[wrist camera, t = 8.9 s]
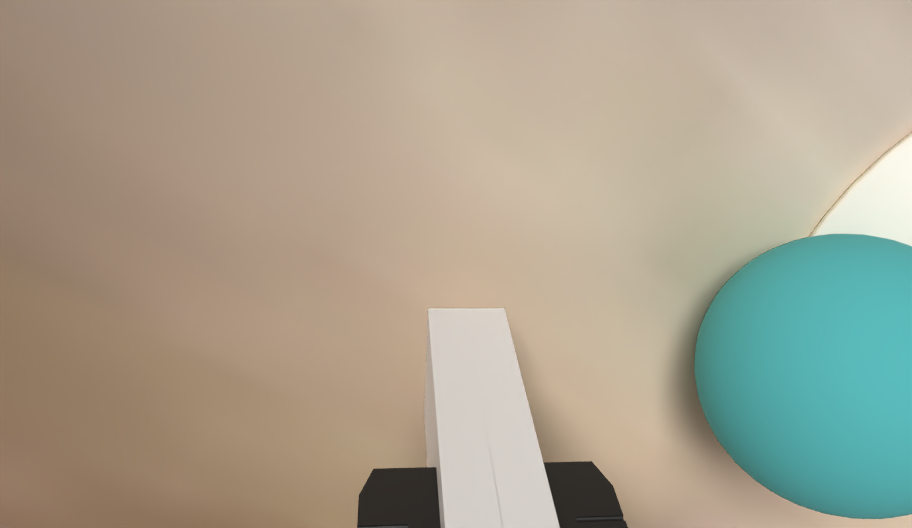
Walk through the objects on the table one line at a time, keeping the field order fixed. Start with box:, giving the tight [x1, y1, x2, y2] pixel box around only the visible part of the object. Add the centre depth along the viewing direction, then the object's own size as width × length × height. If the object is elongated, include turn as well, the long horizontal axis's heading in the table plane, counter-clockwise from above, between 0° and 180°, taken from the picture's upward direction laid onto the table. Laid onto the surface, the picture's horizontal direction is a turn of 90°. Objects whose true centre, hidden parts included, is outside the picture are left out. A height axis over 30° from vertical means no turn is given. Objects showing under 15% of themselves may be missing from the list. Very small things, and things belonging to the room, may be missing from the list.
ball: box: [694, 234, 912, 519], centre depth 14 cm, size 6×6×6 cm
